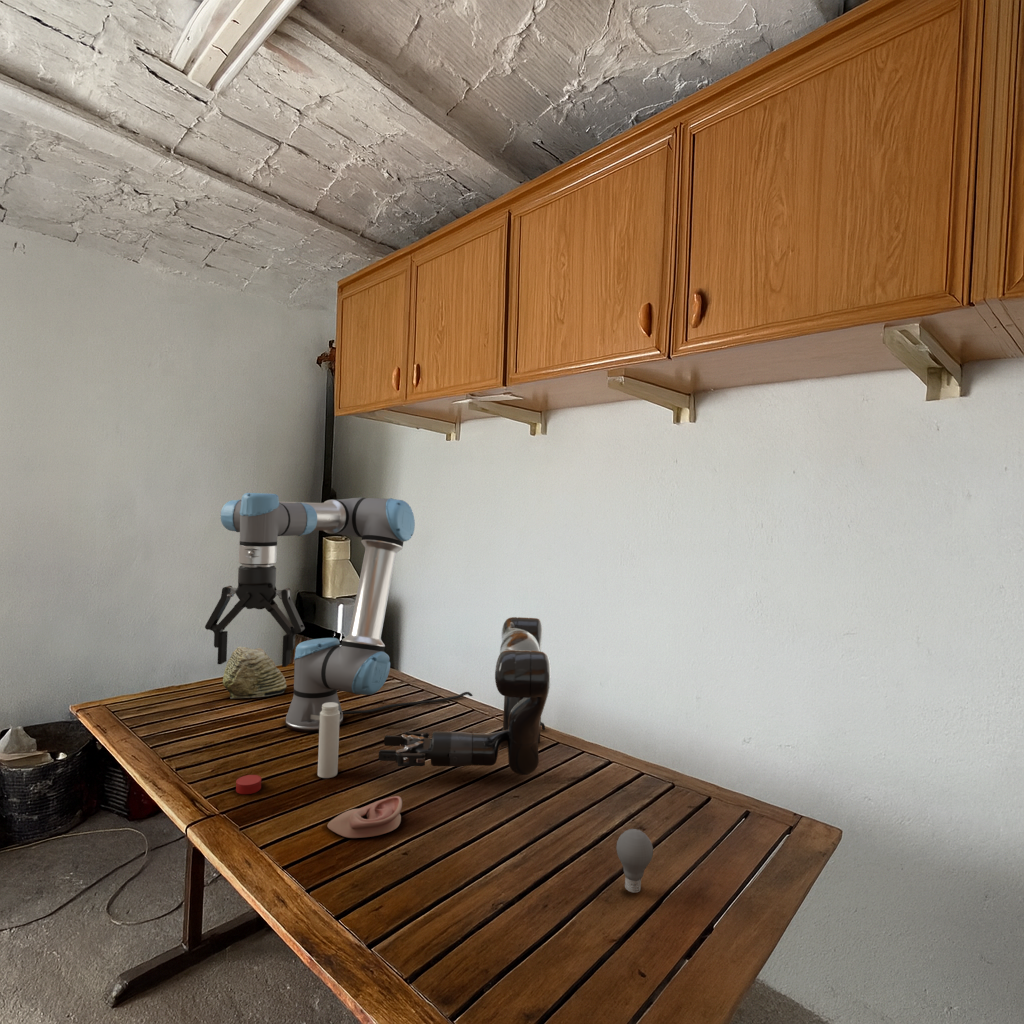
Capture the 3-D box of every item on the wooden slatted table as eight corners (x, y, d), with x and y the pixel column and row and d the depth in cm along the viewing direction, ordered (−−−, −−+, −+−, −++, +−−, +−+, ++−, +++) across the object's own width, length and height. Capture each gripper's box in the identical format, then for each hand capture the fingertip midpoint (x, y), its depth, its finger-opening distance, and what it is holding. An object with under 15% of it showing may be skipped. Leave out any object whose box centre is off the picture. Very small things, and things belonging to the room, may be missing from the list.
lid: (264, 790, 136) (264, 781, 136) (240, 796, 132) (240, 787, 132) (256, 781, 139) (256, 772, 139) (232, 787, 136) (232, 778, 136)
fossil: (218, 695, 195) (220, 647, 195) (278, 685, 208) (279, 640, 207) (228, 703, 189) (230, 653, 188) (289, 692, 201) (290, 645, 201)
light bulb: (610, 879, 108) (613, 822, 108) (644, 879, 109) (647, 822, 109) (619, 902, 102) (622, 840, 102) (655, 901, 103) (658, 840, 103)
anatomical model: (320, 812, 119) (347, 786, 130) (319, 833, 119) (347, 805, 130) (386, 822, 116) (408, 795, 127) (385, 844, 116) (408, 814, 128)
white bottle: (319, 779, 142) (322, 708, 142) (315, 771, 146) (318, 702, 145) (339, 776, 144) (342, 706, 144) (335, 768, 148) (337, 700, 147)
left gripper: (190, 564, 131) (186, 666, 132) (311, 569, 132) (307, 670, 132) (206, 560, 139) (203, 657, 139) (321, 565, 139) (317, 661, 140)
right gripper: (453, 722, 154) (386, 720, 153) (452, 744, 139) (377, 743, 138) (452, 752, 154) (385, 751, 153) (450, 778, 140) (376, 777, 139)
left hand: (254, 664), depth 136 cm, fingers open, 13 cm apart
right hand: (381, 747), depth 146 cm, fingers open, 8 cm apart
